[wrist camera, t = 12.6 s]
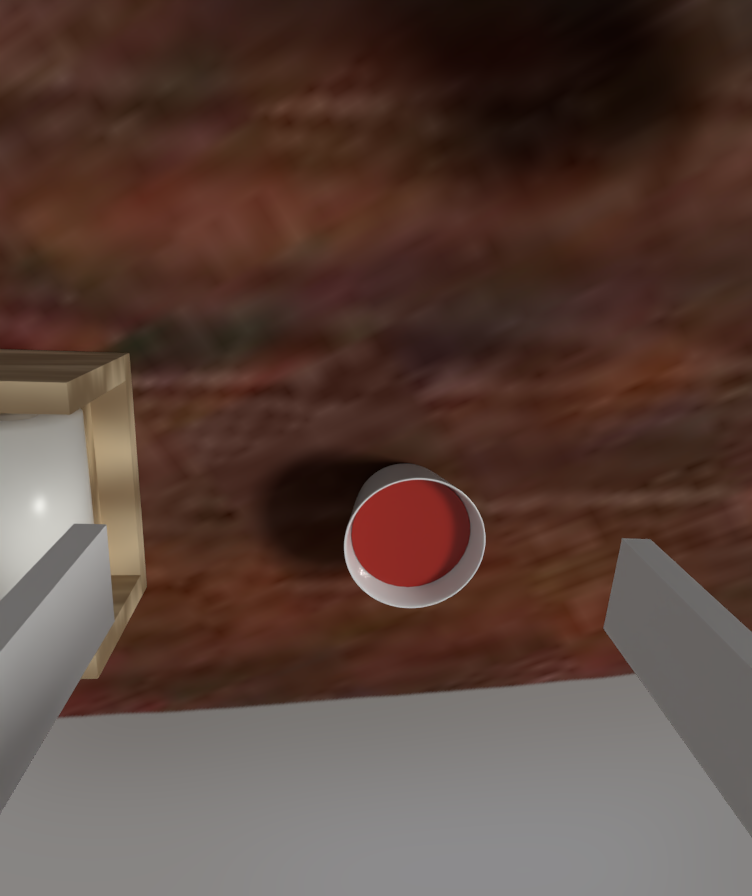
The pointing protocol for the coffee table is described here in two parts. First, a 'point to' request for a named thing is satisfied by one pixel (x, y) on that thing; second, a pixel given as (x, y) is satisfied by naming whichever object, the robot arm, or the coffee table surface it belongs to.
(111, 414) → the oak roll cradle
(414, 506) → the candle
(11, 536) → the paper roll
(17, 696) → the robot arm
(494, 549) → the coffee table surface
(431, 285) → the coffee table surface
